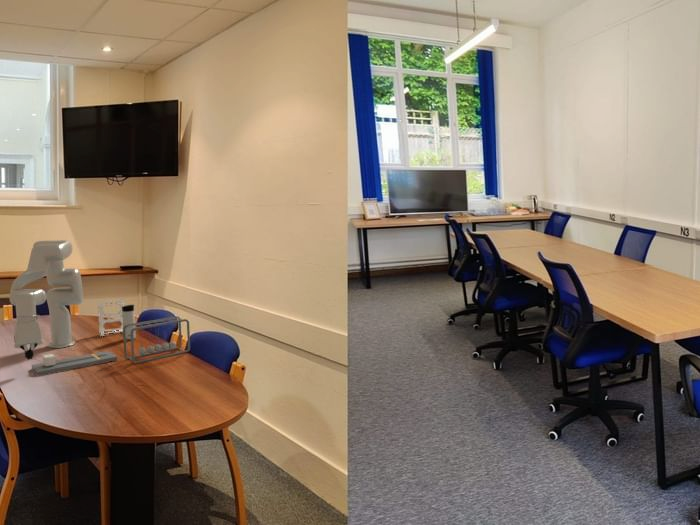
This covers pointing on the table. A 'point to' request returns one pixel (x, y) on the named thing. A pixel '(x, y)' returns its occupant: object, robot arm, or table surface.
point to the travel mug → (128, 320)
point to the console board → (74, 362)
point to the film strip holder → (102, 321)
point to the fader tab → (49, 360)
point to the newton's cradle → (157, 347)
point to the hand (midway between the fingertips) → (29, 358)
